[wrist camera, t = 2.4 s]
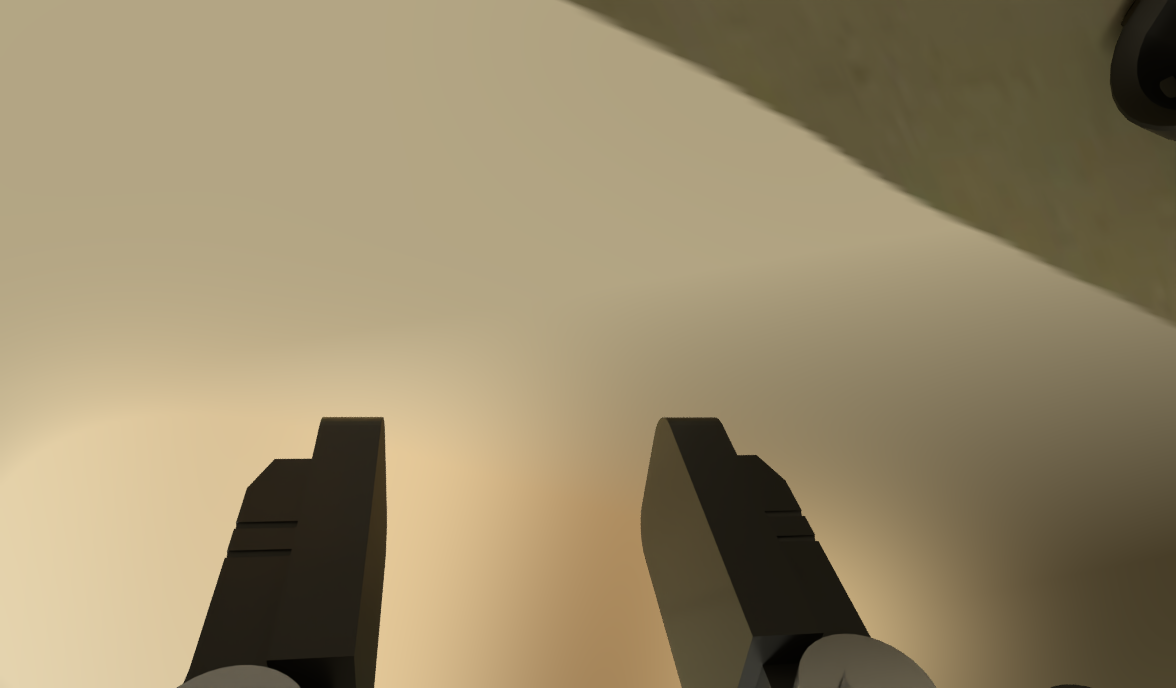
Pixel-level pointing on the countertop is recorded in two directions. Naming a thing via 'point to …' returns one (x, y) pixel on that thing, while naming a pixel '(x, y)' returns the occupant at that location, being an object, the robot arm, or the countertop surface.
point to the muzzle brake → (1147, 67)
